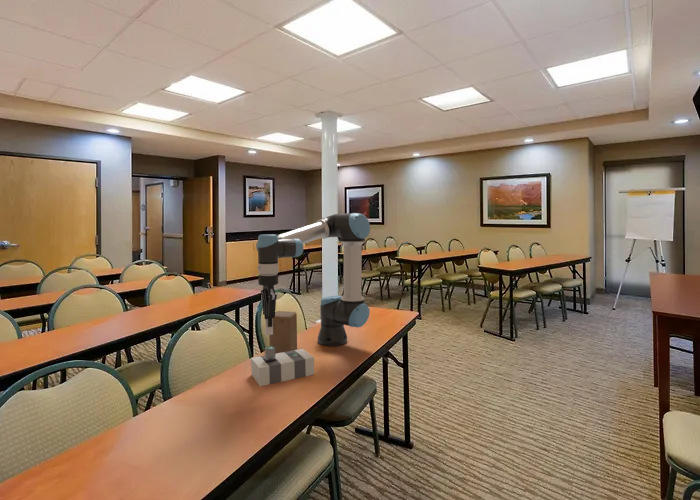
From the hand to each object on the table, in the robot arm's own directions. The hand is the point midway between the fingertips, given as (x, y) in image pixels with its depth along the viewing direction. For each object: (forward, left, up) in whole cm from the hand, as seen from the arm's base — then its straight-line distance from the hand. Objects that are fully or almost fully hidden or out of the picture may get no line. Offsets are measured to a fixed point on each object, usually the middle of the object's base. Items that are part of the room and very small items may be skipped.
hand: (269, 334), depth 150 cm
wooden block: (-12, -19, -18) cm, 29 cm away
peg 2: (-10, 0, -17) cm, 20 cm away
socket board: (-5, 0, -17) cm, 18 cm away
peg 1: (0, 0, -12) cm, 12 cm away
